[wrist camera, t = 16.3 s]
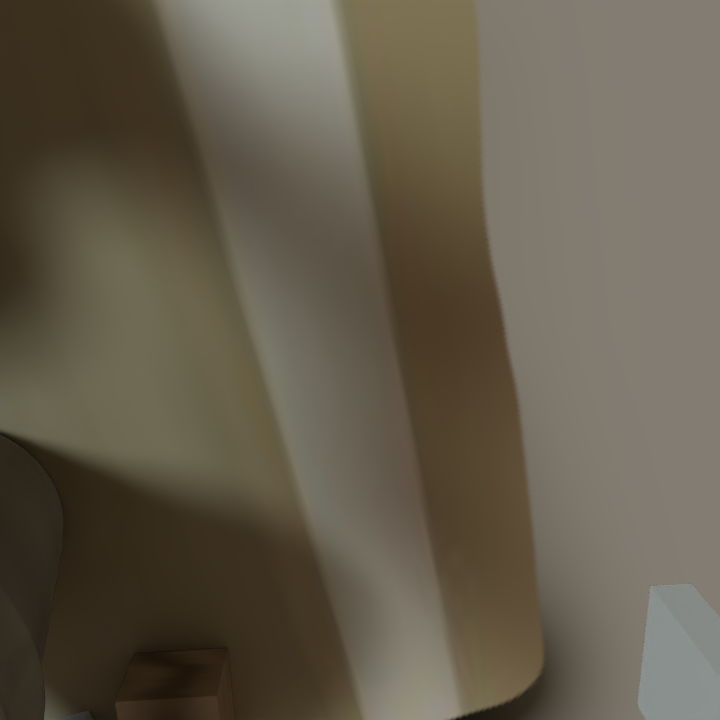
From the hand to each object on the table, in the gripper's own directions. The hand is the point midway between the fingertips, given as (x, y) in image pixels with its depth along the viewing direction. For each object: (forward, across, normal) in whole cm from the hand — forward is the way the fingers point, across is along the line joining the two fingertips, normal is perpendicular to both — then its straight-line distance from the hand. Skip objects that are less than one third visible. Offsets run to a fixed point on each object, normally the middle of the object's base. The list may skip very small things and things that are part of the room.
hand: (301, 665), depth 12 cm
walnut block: (+35, -13, -34) cm, 50 cm away
